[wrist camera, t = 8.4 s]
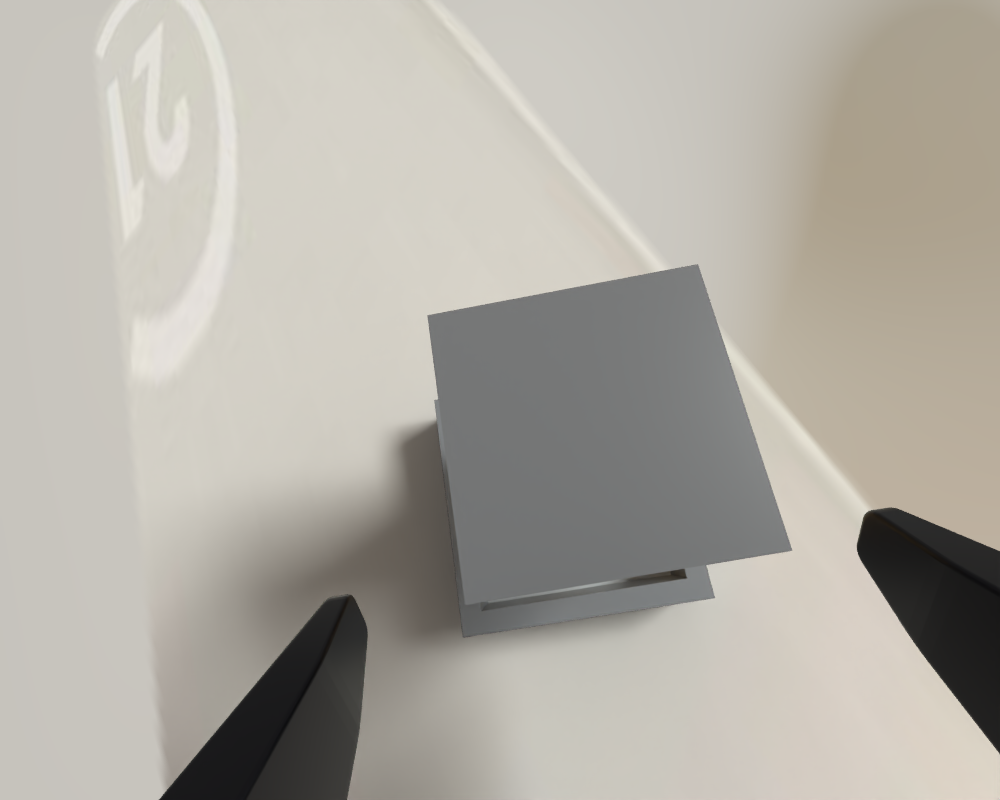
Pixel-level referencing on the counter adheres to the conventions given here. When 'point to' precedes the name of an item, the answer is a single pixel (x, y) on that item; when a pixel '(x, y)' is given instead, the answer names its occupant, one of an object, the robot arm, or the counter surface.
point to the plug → (597, 438)
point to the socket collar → (572, 591)
